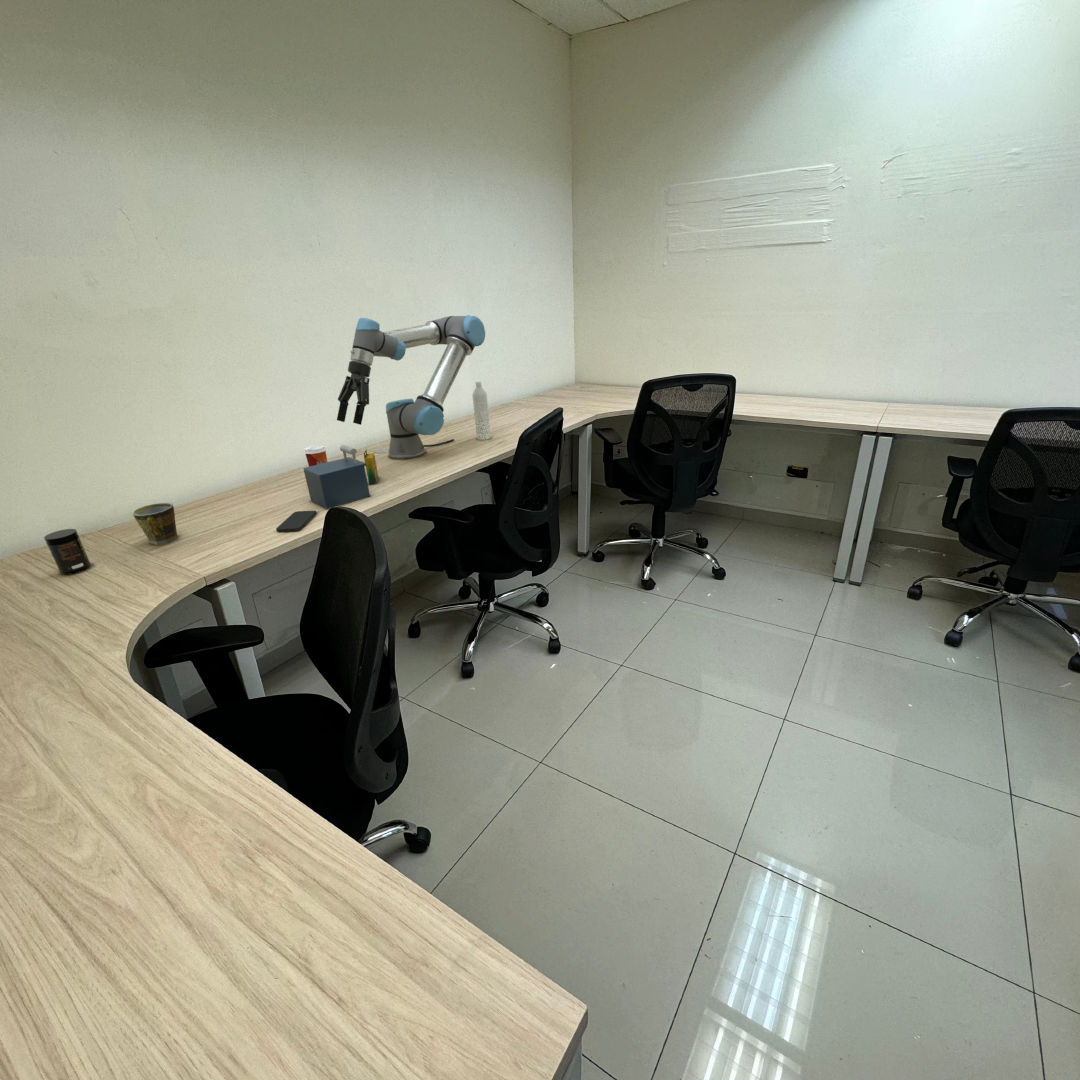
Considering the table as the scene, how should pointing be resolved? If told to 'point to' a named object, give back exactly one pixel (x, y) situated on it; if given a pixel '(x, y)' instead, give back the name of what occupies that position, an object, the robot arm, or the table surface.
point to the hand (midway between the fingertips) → (348, 422)
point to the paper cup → (315, 455)
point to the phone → (296, 521)
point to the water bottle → (481, 413)
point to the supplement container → (67, 551)
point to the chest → (338, 487)
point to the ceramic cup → (157, 522)
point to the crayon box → (371, 467)
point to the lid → (336, 464)
